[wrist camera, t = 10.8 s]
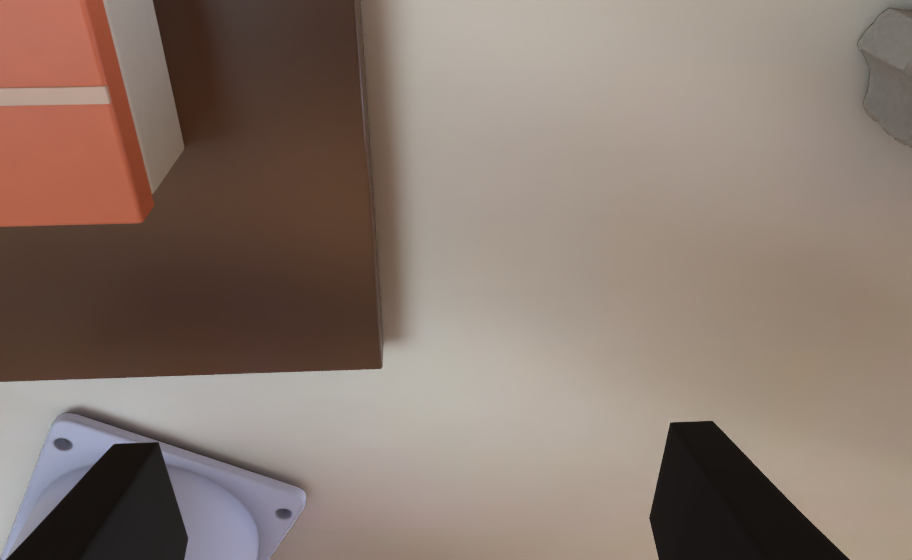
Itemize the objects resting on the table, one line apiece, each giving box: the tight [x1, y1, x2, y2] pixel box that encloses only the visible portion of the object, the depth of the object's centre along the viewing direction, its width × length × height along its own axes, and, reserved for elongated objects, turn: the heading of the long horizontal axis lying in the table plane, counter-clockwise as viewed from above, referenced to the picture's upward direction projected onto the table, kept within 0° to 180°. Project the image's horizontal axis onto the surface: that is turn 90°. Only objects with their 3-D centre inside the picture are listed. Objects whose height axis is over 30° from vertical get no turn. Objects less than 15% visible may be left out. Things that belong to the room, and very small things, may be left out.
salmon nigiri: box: [0, 0, 184, 227], centre depth 13 cm, size 7×4×3 cm, turn 0°
